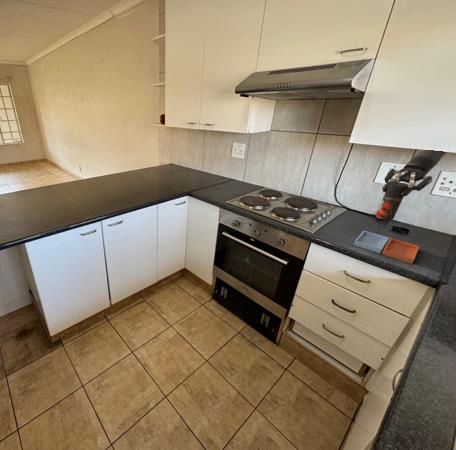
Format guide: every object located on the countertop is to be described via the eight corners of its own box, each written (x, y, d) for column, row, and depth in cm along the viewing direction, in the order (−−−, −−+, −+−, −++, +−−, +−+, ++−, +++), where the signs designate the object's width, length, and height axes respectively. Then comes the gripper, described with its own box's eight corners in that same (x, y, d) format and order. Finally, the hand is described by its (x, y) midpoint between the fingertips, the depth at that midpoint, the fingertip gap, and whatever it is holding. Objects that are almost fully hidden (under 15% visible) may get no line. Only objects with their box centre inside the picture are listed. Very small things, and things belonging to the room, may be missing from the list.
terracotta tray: (417, 250, 108) (419, 246, 107) (411, 263, 100) (414, 259, 99) (389, 241, 115) (390, 238, 114) (381, 253, 106) (383, 249, 105)
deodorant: (397, 220, 105) (413, 186, 98) (382, 220, 105) (398, 186, 98) (385, 214, 110) (400, 181, 103) (372, 214, 110) (385, 182, 103)
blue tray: (387, 241, 115) (389, 237, 114) (379, 253, 107) (381, 249, 106) (362, 234, 122) (363, 230, 121) (353, 244, 113) (354, 240, 112)
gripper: (401, 152, 104) (371, 183, 106) (447, 159, 92) (412, 193, 94) (403, 163, 108) (375, 193, 110) (447, 171, 96) (414, 204, 98)
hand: (392, 193), depth 102 cm, fingers closed on deodorant, 6 cm apart
